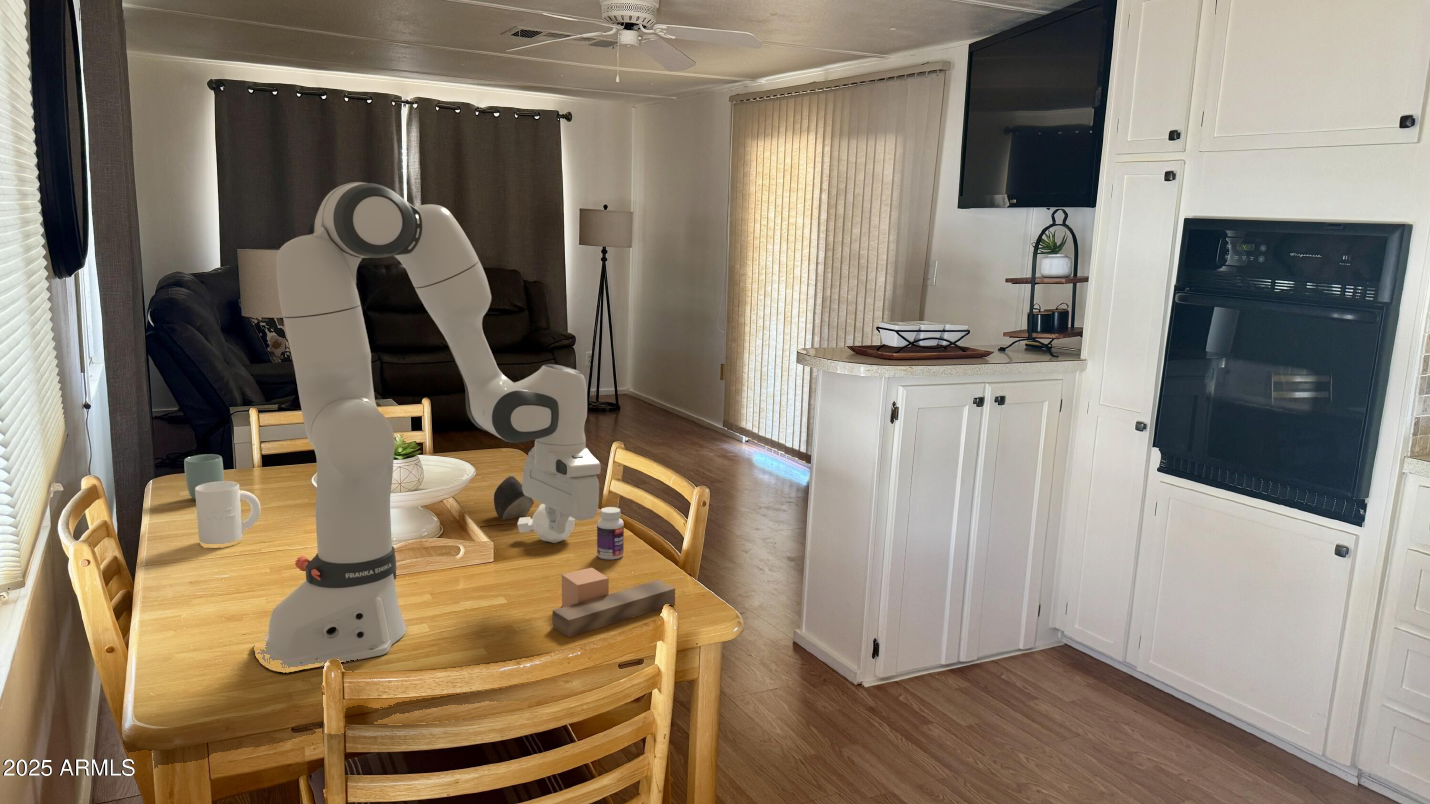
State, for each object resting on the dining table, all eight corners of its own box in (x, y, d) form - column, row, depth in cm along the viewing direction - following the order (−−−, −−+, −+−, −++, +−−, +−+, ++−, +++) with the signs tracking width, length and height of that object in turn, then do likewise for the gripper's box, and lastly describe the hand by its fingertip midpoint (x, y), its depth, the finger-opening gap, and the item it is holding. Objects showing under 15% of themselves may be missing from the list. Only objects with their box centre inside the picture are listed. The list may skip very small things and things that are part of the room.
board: (568, 637, 152) (568, 620, 151) (552, 627, 155) (552, 610, 155) (675, 604, 166) (675, 588, 165) (657, 595, 170) (658, 579, 169)
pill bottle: (619, 561, 186) (619, 514, 185) (593, 558, 187) (593, 512, 186) (627, 552, 192) (627, 506, 190) (602, 550, 193) (601, 504, 191)
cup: (231, 497, 223) (228, 457, 221) (199, 505, 216) (195, 463, 214) (213, 492, 227) (210, 452, 225) (181, 500, 220) (177, 459, 218)
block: (577, 618, 159) (577, 585, 158) (562, 606, 164) (561, 574, 163) (608, 610, 163) (608, 578, 162) (592, 599, 168) (592, 567, 167)
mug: (269, 539, 195) (265, 484, 192) (206, 552, 187) (201, 494, 184) (256, 529, 201) (252, 475, 198) (194, 541, 193) (190, 485, 190)
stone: (500, 527, 212) (503, 501, 205) (486, 502, 216) (489, 476, 208) (533, 515, 216) (537, 490, 209) (518, 491, 220) (522, 465, 213)
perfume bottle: (582, 525, 202) (528, 529, 203) (574, 490, 198) (519, 494, 199) (575, 549, 195) (519, 554, 196) (567, 514, 190) (510, 518, 191)
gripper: (514, 446, 170) (512, 519, 173) (575, 470, 155) (571, 550, 157) (545, 443, 175) (542, 514, 177) (606, 466, 159) (602, 544, 162)
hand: (556, 531), depth 167 cm, fingers closed
